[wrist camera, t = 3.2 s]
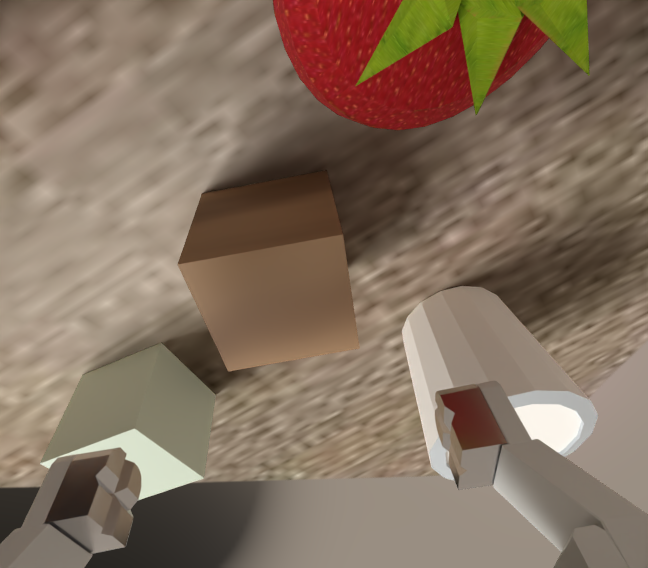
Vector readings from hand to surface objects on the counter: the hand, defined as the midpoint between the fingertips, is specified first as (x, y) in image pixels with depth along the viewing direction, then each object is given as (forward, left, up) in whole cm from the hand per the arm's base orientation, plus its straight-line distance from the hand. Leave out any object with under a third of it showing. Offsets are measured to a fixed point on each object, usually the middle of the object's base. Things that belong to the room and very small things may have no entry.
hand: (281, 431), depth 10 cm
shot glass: (+7, +8, -9) cm, 14 cm away
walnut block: (0, 0, -9) cm, 9 cm away
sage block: (+8, -9, -9) cm, 15 cm away
